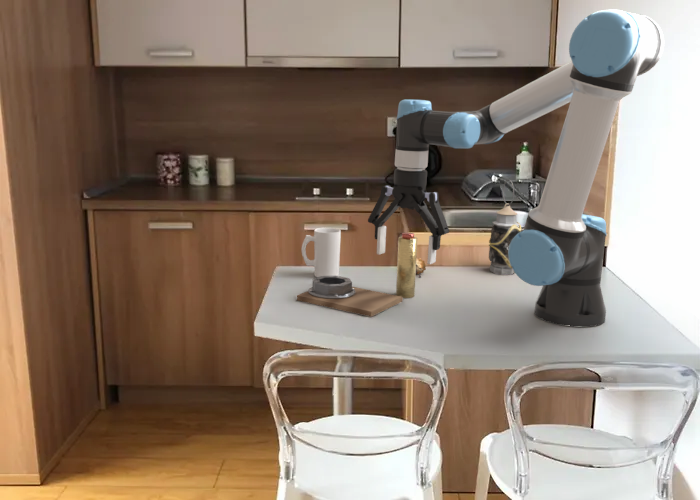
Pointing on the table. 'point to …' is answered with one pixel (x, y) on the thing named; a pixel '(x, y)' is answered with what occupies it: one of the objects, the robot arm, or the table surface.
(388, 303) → the board
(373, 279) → the table surface
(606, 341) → the table surface
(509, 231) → the lantern
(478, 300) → the table surface
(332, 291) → the flange socket
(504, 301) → the table surface
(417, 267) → the figurine
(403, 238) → the gold cylinder
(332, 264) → the mug
